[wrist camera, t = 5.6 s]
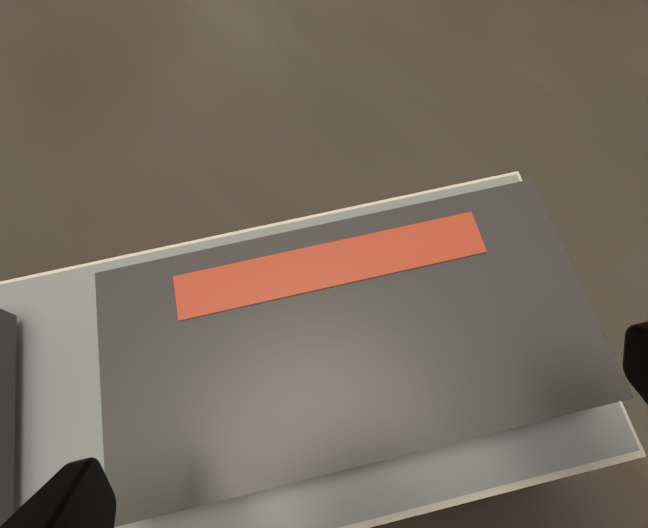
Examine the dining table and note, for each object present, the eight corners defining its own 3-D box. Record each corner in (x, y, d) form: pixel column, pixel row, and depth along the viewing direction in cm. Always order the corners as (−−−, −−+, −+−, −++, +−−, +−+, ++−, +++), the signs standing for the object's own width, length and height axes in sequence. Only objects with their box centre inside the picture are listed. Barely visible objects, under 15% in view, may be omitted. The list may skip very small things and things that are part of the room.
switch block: (532, 456, 20) (651, 456, 12) (-200, 642, 18) (-579, 773, 10) (460, 260, 23) (520, 167, 16) (-163, 400, 21) (-431, 370, 14)
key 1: (594, 405, 13) (635, 397, 11) (139, 519, 12) (105, 529, 10) (510, 210, 15) (533, 177, 13) (123, 294, 14) (93, 272, 12)
